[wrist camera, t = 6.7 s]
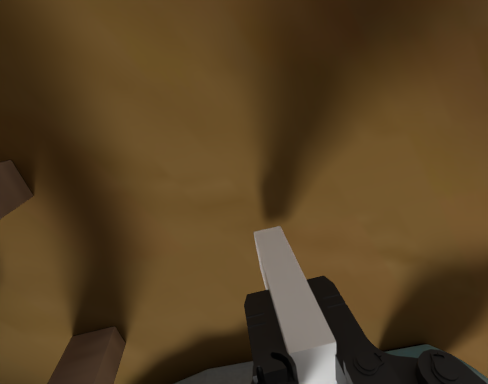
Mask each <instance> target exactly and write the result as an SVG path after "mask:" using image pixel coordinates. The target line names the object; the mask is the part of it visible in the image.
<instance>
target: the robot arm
mask: <svg viewBox="0 0 488 384" xmlns="http://www.w3.org/2000/svg"><path fill="white" fill-rule="evenodd" d="M254 237H255V243H256V248H257V253H258V258H259V263H260V269H261V272H262V276H263V280H264V283H265V287H266V290H264V291H260V292H256V293H251V294H247V297H246V301H245V304H244V307H245V314H246V320H247V326H248V333H249V339H250V345H251V351H252V358H253V364H254V365H253V374H252V377H253V379H252V382H251V384H337V383H338V384H487V383H486V382H485V381H484V380H483V379H481V378H480V377H479V376H478V375H477V374H476V373H474V372H473V371H472V370H471V369H470V368H469V367H467V366H466V365H465V364H464V363H463V362H461V361H460V360H459V359H457V358H456V357H454V356H453V355H451V354H449V353H446V352H444V351H441V350H434V349H429V350H426V351H423V352H422V353H421V355H420V356H419V357H418V358H414V357H404V356H396V355H391V354H388V353H385V352H383V351H381V350H380V349H378V348H376V347H375V346H374V345H373V344H372V343H371V342H370V341H369V340H368V339H367V337H366V336H365V334H364V332H363V331H362V329H361V328H360V326H359V324H358V323H357V321H356V319H355V318H354V316H353V314H352V313H351V311H350V309H349V308H348V306H347V305H346V304H345V301H344V300H343V298H342V296H340V293H339V291H338V290H337V288H336V286H335V285H334V283H333V282H331V281H330V280H329V279H327V278H326V277H325V276H320V277H316V278H312V279H308V280H306V278H305V276H304V274H303V272H302V270H301V268H300V266H299V264H298V262H297V260H296V258H295V256H294V254H293V251H292V249H291V247H290V245H289V243H288V241H287V239H286V237H285V235H284V233H283V231H282V229H281V227H280V226H278V227H273V228H269V229H265V230H260V231H256V232H254Z"/></svg>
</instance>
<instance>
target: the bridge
mask: <svg viewBox="0 0 488 384" xmlns="http://www.w3.org/2000/svg"><path fill="white" fill-rule="evenodd" d="M32 197H33V194H32V193H31V191H30V189H29V188H28V186H27V185H26V183H25V181H24V180H23V178H22V177H21V175H20V173H19V172H18V170H17V169H16V167H15V165H14V164H13V162H12V161H11V160H8V161H3V162H0V219H1V218H2V217H4V216H5V215H7V214H8V213H10V212H11V211H13V210H14V209H16V208H17V207H18V206H20V205H21V204H23V203H24V202H26V201H27V200H29V199H30V198H32ZM125 345H126V343H125V342H124V340H123V338H122V337H121V335H120V334H119V332H118V330H117V329H116V327H115V326H114V327H110V328H106V329H102V330H97V331H93V332H89V333H85V334H80V335H76V336H72V338H71V340H70V342H69V343H68V345H67V347H66V349H65V351H64V353H63V355H62V357H61V359H60V361H59V363H58V365H57V366H56V368H55V370H54V372H53V374H52V376H51V378H50V380H49V382H48V384H114V381H115V377H116V374H117V371H118V368H119V364H120V361H121V358H122V354H123V351H124V348H125Z"/></svg>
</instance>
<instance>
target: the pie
mask: <svg viewBox="0 0 488 384" xmlns="http://www.w3.org/2000/svg"><path fill="white" fill-rule="evenodd" d="M253 365H254V364H253V361H251V362H245V363H240V364H234V365H229V366H223V367H217V368H212V369H207V370H205V371H202V372H200V373H198V374H195V375H193V376H191V377H188V378H186V379H183V380H181V381H179V382H176V383H174V384H251V382H252V379H253V377H252V374H253Z"/></svg>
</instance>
